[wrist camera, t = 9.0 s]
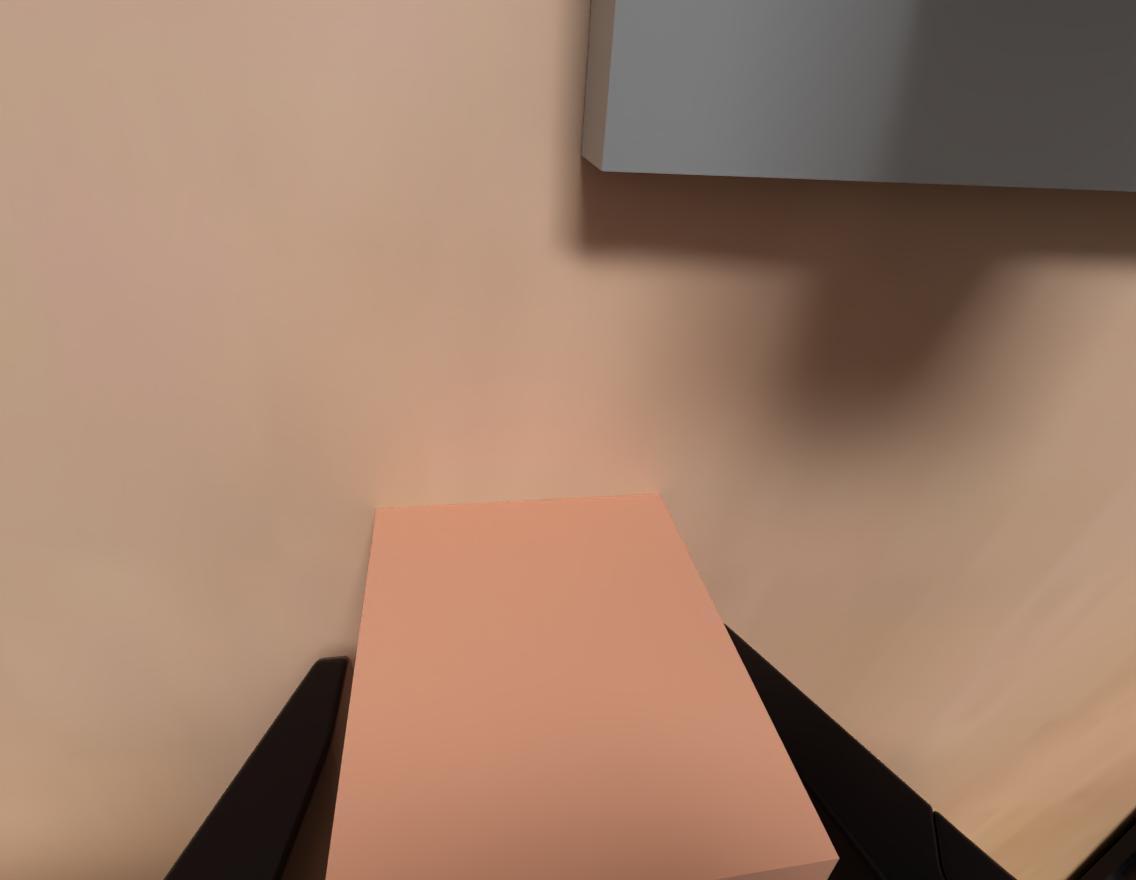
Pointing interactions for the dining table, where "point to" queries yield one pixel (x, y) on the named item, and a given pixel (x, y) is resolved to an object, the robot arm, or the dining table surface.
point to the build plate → (866, 90)
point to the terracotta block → (557, 708)
